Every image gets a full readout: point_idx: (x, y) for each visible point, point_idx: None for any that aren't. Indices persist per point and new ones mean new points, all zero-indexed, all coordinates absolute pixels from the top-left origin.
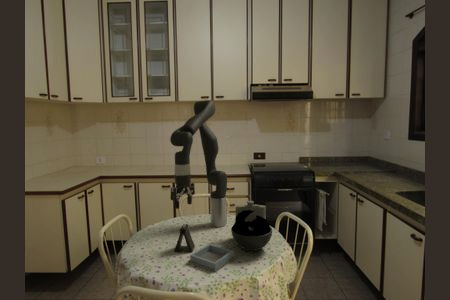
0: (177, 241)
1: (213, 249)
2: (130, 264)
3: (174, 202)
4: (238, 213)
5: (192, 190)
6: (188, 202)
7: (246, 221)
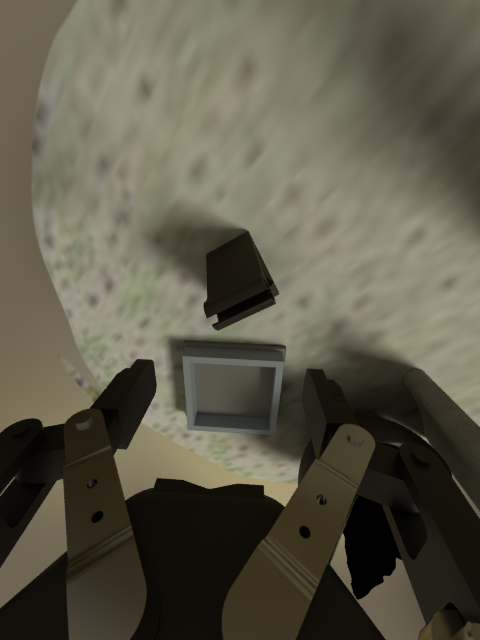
0: (207, 276)
1: (274, 371)
2: (41, 183)
3: (93, 405)
4: (381, 538)
5: (408, 556)
6: (307, 389)
7: (458, 452)
